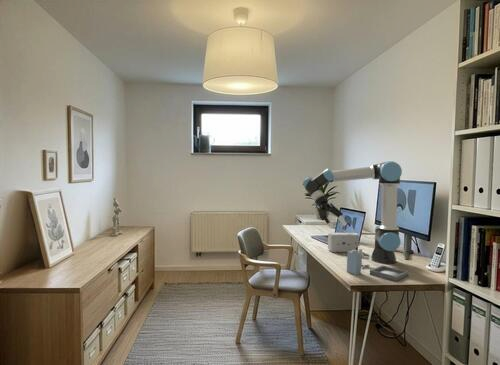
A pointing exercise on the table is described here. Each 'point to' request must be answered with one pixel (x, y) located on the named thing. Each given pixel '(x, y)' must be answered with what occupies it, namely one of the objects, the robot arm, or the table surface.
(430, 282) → the table surface
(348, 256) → the block
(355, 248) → the stereo radio cassette player
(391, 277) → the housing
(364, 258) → the pipe connector
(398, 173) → the robot arm
